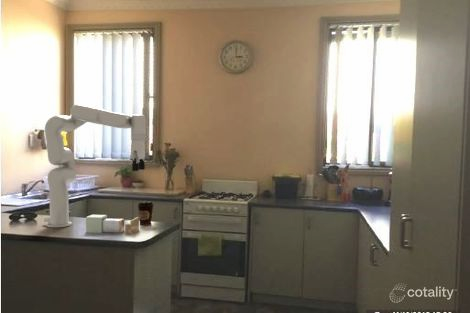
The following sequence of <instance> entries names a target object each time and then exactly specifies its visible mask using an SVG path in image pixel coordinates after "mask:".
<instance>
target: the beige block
mask: <svg viewBox="0 0 470 313" xmlns="http://www.w3.org/2000/svg"><path fill="white" fill-rule="evenodd" d="M139 231H140V221H139V216H136V217H134V218H133V219H130V222H129V223H124V234H125V235H135V234H136V233H137V232H139Z"/></svg>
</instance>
